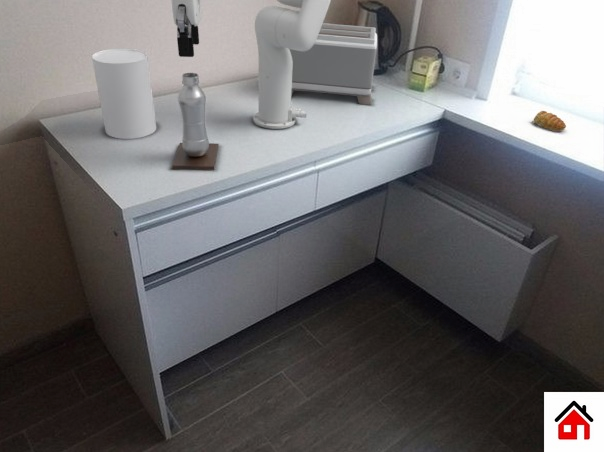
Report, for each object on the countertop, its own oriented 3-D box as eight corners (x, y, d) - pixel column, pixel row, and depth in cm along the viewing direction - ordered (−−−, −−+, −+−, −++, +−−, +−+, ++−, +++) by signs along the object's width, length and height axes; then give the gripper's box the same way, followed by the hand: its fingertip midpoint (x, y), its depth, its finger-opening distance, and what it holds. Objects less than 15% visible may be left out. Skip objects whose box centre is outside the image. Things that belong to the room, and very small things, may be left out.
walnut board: (218, 146, 131) (218, 143, 130) (214, 170, 120) (213, 166, 120) (180, 146, 130) (180, 142, 130) (172, 169, 120) (172, 165, 119)
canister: (157, 136, 134) (148, 62, 123) (104, 140, 131) (90, 64, 119) (155, 117, 145) (146, 47, 134) (106, 120, 141) (93, 49, 130)
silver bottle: (215, 152, 126) (210, 74, 115) (196, 162, 121) (190, 81, 110) (196, 146, 128) (190, 68, 117) (177, 155, 124) (169, 75, 112)
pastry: (569, 130, 153) (573, 118, 151) (555, 134, 150) (559, 122, 148) (543, 119, 160) (547, 108, 157) (529, 123, 157) (533, 111, 154)
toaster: (278, 77, 181) (280, 18, 170) (372, 86, 178) (380, 27, 167) (269, 95, 165) (269, 31, 154) (371, 105, 162) (380, 41, 151)
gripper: (195, -29, 94) (202, 62, 104) (205, -41, 108) (210, 40, 118) (155, -30, 94) (166, 61, 103) (170, -42, 108) (178, 39, 117)
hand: (189, 50), depth 111 cm, fingers open, 9 cm apart
